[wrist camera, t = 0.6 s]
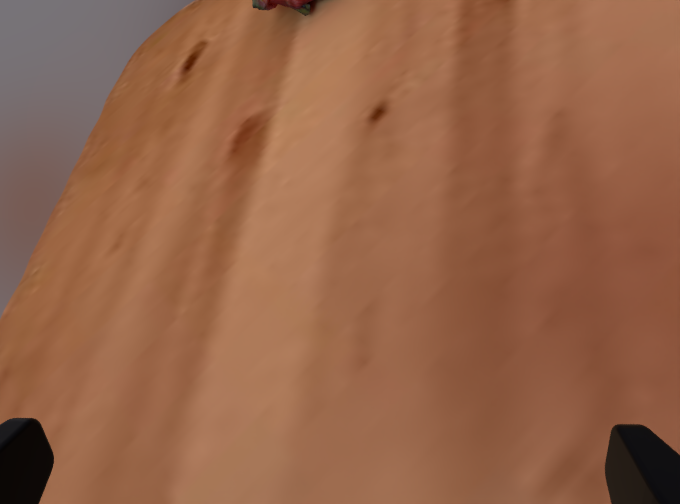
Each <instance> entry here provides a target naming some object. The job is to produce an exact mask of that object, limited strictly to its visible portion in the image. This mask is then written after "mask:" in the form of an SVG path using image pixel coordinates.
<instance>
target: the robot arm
mask: <svg viewBox="0 0 680 504" xmlns="http://www.w3.org/2000/svg"><path fill="white" fill-rule="evenodd" d="M53 464H54V455H53V451H52V449H51V447H50V444H49V442H48V440H47V437H46V435H45V433H44V430H43V428H42V426H41V424H40V422H39V421H38V420H36V419H34V418H13V419H9V420H7V421H5V422H4V423H2V424H1V425H0V504H39V502H40V499H41V497H42V494H43V492H44V489H45V487H46V484H47V481H48V479H49V476H50V474H51V471H52V468H53ZM605 476H606V482H607V486H608V490H609V494H610V499H611V503H612V504H680V455H679V454H678V453H677V452H676V451H674V450H673V449H672V448H671V447H670V446H669V445H667V444H666V443H665V442H664V441H663V440H662V439H660V438H659V437H658V436H657V435H656V434H655V433H653V432H652V431H651V430H650V429H649V428H647V427H645V426H643V425H639V424H618V425H615V426H614V427H613V428H612V430H611V434H610V440H609V446H608V451H607V457H606V462H605Z"/></svg>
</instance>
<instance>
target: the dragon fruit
mask: <svg viewBox="0 0 680 504" xmlns="http://www.w3.org/2000/svg"><path fill="white" fill-rule="evenodd" d="M310 1H313V0H253V8H258V9H259V10H270V9H273V8H275V7H276V6H277V5H278V4H280V5H283V6H286V7H291V8H293V9H295V10H297V11H299V12H300V13H302V14H304V15H305V16H306V15H308V14H309V12H310V4H309V5H307V3H308V2H310Z"/></svg>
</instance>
